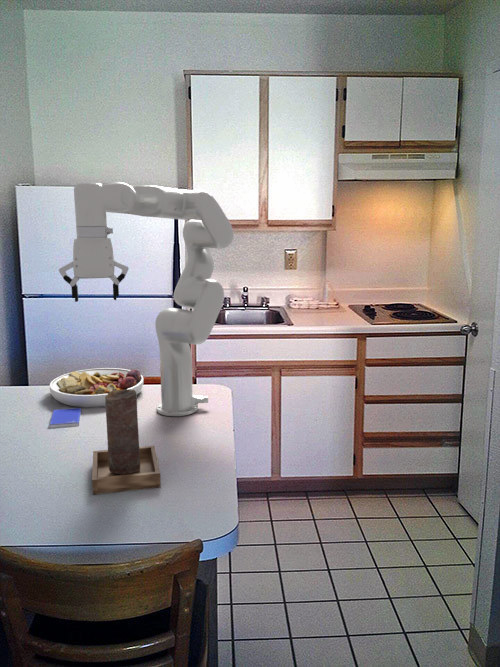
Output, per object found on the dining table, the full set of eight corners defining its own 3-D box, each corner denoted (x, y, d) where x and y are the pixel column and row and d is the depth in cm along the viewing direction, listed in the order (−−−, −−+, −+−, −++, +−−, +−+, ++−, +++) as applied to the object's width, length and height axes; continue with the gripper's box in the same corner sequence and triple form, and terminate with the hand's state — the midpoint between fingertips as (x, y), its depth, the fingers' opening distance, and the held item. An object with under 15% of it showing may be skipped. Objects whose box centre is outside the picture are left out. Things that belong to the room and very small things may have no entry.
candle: (133, 480, 144) (129, 398, 139) (103, 477, 145) (98, 396, 141) (145, 466, 151) (141, 387, 147) (116, 463, 153) (112, 385, 148)
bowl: (49, 415, 189) (47, 390, 187) (51, 385, 217) (49, 363, 215) (149, 405, 197) (148, 381, 195) (138, 378, 225) (137, 357, 223)
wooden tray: (155, 458, 158) (154, 445, 157) (160, 487, 142) (160, 473, 142) (94, 464, 154) (93, 451, 154) (93, 494, 139) (92, 480, 138)
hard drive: (78, 422, 179) (81, 407, 191) (49, 424, 178) (53, 409, 189) (79, 427, 180) (81, 412, 191) (49, 429, 178) (53, 414, 190)
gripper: (126, 231, 163) (129, 296, 167) (57, 232, 159) (62, 299, 163) (127, 233, 156) (130, 301, 160) (55, 235, 152) (60, 304, 156)
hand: (96, 300), depth 161 cm, fingers open, 9 cm apart
